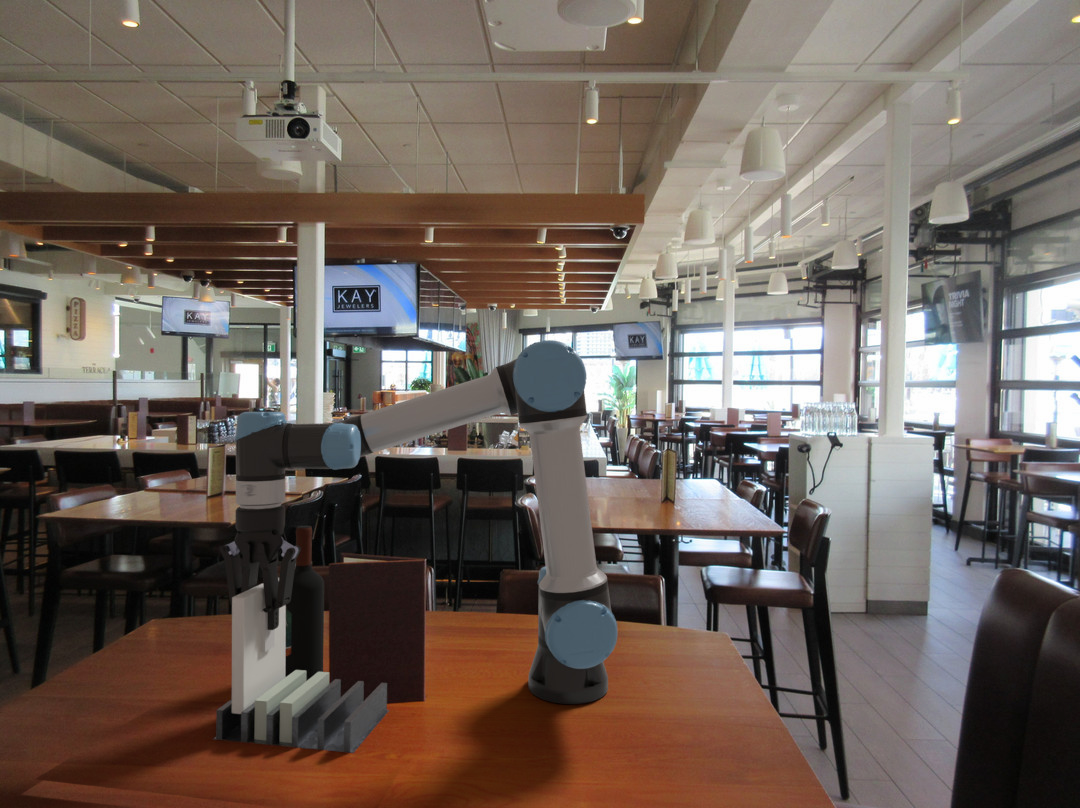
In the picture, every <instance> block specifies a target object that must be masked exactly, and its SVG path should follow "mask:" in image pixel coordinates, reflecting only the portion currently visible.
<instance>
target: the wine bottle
mask: <svg viewBox="0 0 1080 808" xmlns="http://www.w3.org/2000/svg"><path fill="white" fill-rule="evenodd" d="M295 536H296V539H295V540H296V542H295V543H296V544H295V546H296V545H298V546H300V548H301V551H300V553H299V555H298V557H297V559H296V564H295V571H294V579H293V586H292V594H291V601H290V603H288V604H286V648H285V677H287V676H288V675H289V674H291V673H292V672H293V671H295V670H305V671H307V673H306V681H307V680H309V679H310V678H311V677H312V676H314V675H315V674H316V673H317V672H324V645H325V643H324V637H325V636H324V633H325V631H324V630H325V624H324V623H325V622H324V621H325V619H324V618H325V580H324V579H323V577H322V576H321V574H319V573H318V572H317V571H315V570H314V569H313V565H312V548H313V547H312V543H313V542H312V541H313V539H312V538H313V537H312V536H313V529H312V525H300V526H297V527H296V530H295Z"/></svg>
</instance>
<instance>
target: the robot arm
mask: <svg viewBox="0 0 1080 808" xmlns="http://www.w3.org/2000/svg"><path fill="white" fill-rule="evenodd" d="M586 384H587V369H586V366H585V364H584V361H583V359H582V357H581V356H580V354H579V353H578V352H577V351H576V350H575V349H574V348H573V347H571V346H570V345H568V344H566V343H564V342H561V341H558V340H551V339H550V340H540V341H537V342H536V341H535V342H534V343H531V344H530V345H528V346H527V347H525V348H524V349H523V350H522V351H521V352H520V353H519V354H518V356H517V357H516V358H515V359H513V360H511V361H508V362H507V363H504V364H502V365H498V366H495V367H493V369H492V371H491V373H490V374H487V375H484V376H481V377H478V378H473V379H471V380H468V381H465V382H462V383H458V384H455V385H451V386H449V387H445V388H443V389H439V390H436V391H432V392H430V393H425V394H423V395H419V396H416V397H413V398H410V399H408V400H404V401H401V402H397V403H395V404H391V405H388V406H384V407H382V408H377V409H375V410H371V411H368V412H365V413H362V414H360V415H355V416H352V417H349V418H346V419H342V420H339V421H335V422H325V423H290V422H288V421H287V420H286V414H285V413H284V411H283V412H282V411H244V412H241V413H239V414H238V415H237V419H236V431H235V438H234V443H235V504H236V505H238V507H237V508H236V509H235V529H236V535H235V538H234V541H232V542H230V543H228V544H225V545H222V546H220V548H219V551H220V553H221V555H222V558H223V560H224V566H225V574H226V583H227V590H228V598H229V604H230V605H231V606H232V597H234V596H236V595H238V594H241V593H243V592H245V591H247V590H249V589H251V588H254V587H256V586H258V577H259V568H260V570H262V571H261V572H262V582H263V584H264V596H265V607H266V608H264V609H263V611H261V652H266V651H268V650H269V649H271V648H272V647H274V638H275V629H276V628H277V627H278V625H279V608H281V607H283V606H284V605H286V604H288V603H290V601H291V594H292V586H293V579H294V571H295V567H296V559H297V557H298V555H299V553H300V551H301V548H300V546H298V545H296V544H295V545H293V544H291V543H289V542H288V541H287V537H286V534H285V531H284V530H285V526H286V507H285V506H284V504H283V503H284V502H285V501H286V470H295V469H299V470H300V469H301V470H302V469H303V470H304V469H305V470H306V469H312V470H314V469H315V470H316V469H317V470H318V469H319V470H322V469H323V470H329V469H330V470H331V469H332V470H333V471H334V470H335V471H337V470H342V469H354V468H355V467H356V466H357V465H358V464H359V461H360V459H361V458H362V457H365V456H369V455H371V454H374V453H377V452H380V451H384V450H386V449H387V450H388V449H390V448H393V447H396V446H400V445H403V444H406V443H409V442H412V441H415V440H419V439H423V438H426V437H428V436H431V435H435V434H438V433H441V432H444V431H448V430H451V429H455V428H457V427H460V426H465V425H467V424H470V423H473V422H476V421H480V420H483V419H487V418H489V417H493V416H496V415H499V414H505V415H507V416H508V417H510V416H514V415H517V416H518V417H517V418H518V425H519V426H520V427H521V428H522V429H523V430H525V431H526V432H527V433H528V434H529V443H530V450H531V457H532V458H531V459H532V467H533V473H534V475H533V476H534V482H535V483H534V484H535V490H536V497H537V505H538V507H537V508H538V515H539V522H540V530H541V531H540V532H541V538H542V547H543V548H542V549H543V555H544V564H545V566H543V567H541V568H540V569H539V571H538V579H537V585H538V606H537V607H538V612H537V613H538V614H537V615H538V621H537V622H538V628H537V629H538V630H537V637H538V638H537V648H536V650H535V654H534V657H533V660H532V662H531V666H530V669H529V672H528V690H529V691H530V692H531V694H532V695H533V696H535V697H537V698H539V699H541V700H543V701H546V702H549V703H554V704H555V703H556V704H562V705H563V704H564V705H579V704H586V703H591V702H595V701H597V700H599V699H601V698H603V697H604V696H605V695H606V694H607V693H608V689H609V677H608V676H609V675H608V672H607V670H606V666H605V661H606V660H607V659H608V658H609V657H610V656H611V654H612V653H613V651H614V649H615V646H616V644H617V640H618V632H619V631H618V623H617V620H616V618H615V615H614V613H613V612H612V608H611V607H612V606H611V599H610V591H609V582H608V577H607V575H606V573H604V572H603V571H602V570H601V569H599V568H598V567H597V558H596V551H595V544H594V543H595V542H594V535H593V534H594V533H593V526H592V520H591V519H592V518H591V509H590V503H589V495H588V494H589V493H588V486H587V478H586V470H585V462H584V460H585V459H584V453H583V445H582V438H581V429H580V428H581V427H582V424H583V423H584V422H585V421H586V420H587V418H588V413H587V403H586V396H585V389H586V388H585V387H586ZM281 551H282V553H281ZM280 553H281V554H280ZM240 554H241V555H242V560H241V555H240ZM279 554H280V555H281V557H282V558H281V563H280V571H278V565H279ZM278 578H279V581H278Z"/></svg>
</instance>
